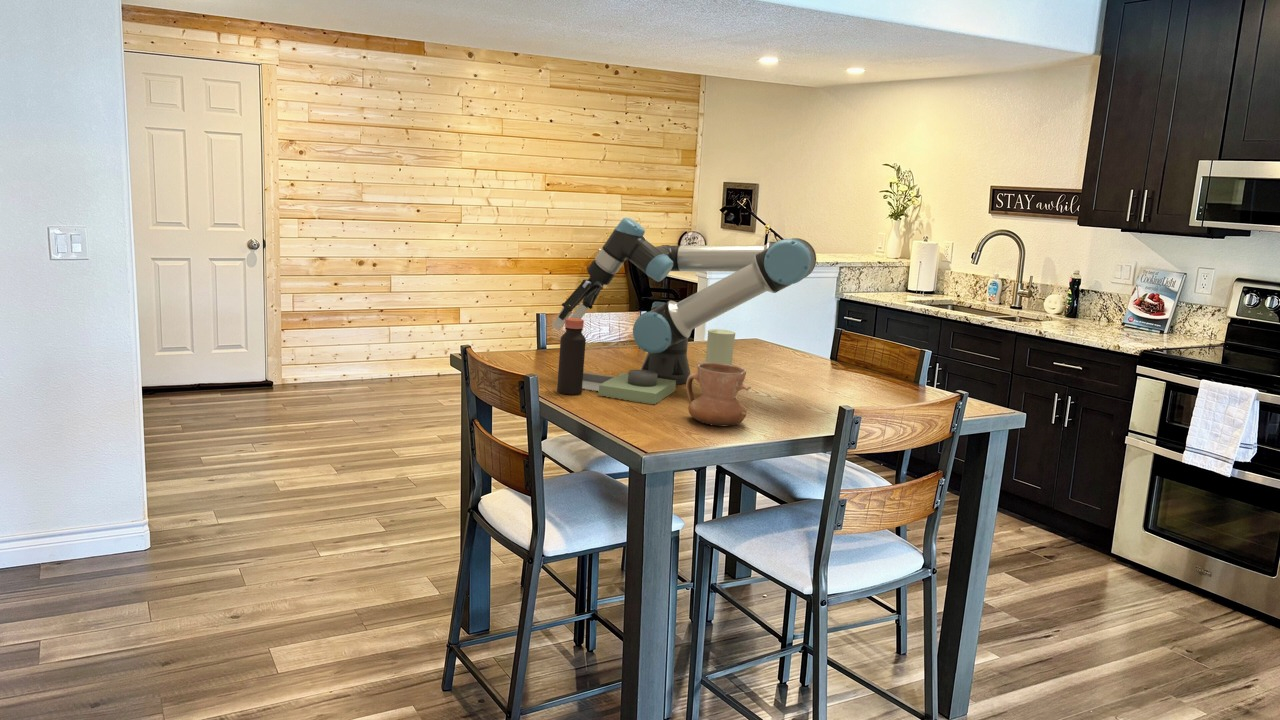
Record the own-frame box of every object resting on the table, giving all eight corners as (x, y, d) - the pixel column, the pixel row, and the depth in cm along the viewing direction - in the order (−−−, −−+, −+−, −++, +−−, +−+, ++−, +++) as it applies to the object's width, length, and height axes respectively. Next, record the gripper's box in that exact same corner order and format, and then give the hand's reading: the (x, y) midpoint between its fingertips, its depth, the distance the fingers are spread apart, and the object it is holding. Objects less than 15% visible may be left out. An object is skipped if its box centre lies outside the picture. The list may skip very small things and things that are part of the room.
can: (700, 362, 310) (703, 327, 308) (725, 363, 313) (729, 328, 311) (710, 368, 301) (714, 332, 299) (736, 368, 304) (740, 333, 302)
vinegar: (583, 395, 248) (589, 322, 244) (558, 394, 246) (563, 320, 243) (580, 389, 254) (585, 318, 251) (555, 389, 253) (560, 316, 249)
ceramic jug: (759, 425, 232) (766, 370, 230) (729, 434, 221) (735, 376, 218) (700, 410, 243) (705, 357, 240) (668, 418, 231) (673, 363, 229)
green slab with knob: (583, 377, 271) (584, 357, 270) (675, 390, 263) (676, 370, 262) (557, 389, 252) (558, 368, 251) (655, 404, 245) (657, 382, 243)
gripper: (608, 257, 277) (569, 313, 283) (579, 260, 253) (537, 321, 259) (627, 272, 276) (588, 328, 282) (600, 276, 252) (558, 337, 258)
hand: (564, 325), depth 270 cm, fingers open, 13 cm apart
